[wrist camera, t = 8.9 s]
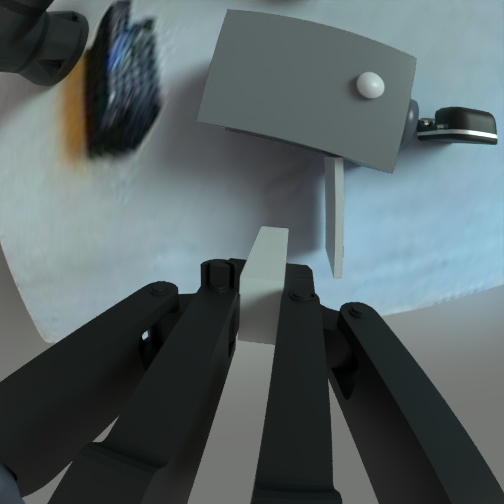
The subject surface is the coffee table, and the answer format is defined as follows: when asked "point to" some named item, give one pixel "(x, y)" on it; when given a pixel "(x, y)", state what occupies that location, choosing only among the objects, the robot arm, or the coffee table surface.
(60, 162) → the coffee table surface
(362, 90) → the small grey cabinet
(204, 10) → the coffee table surface
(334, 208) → the cabinet door
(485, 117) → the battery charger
